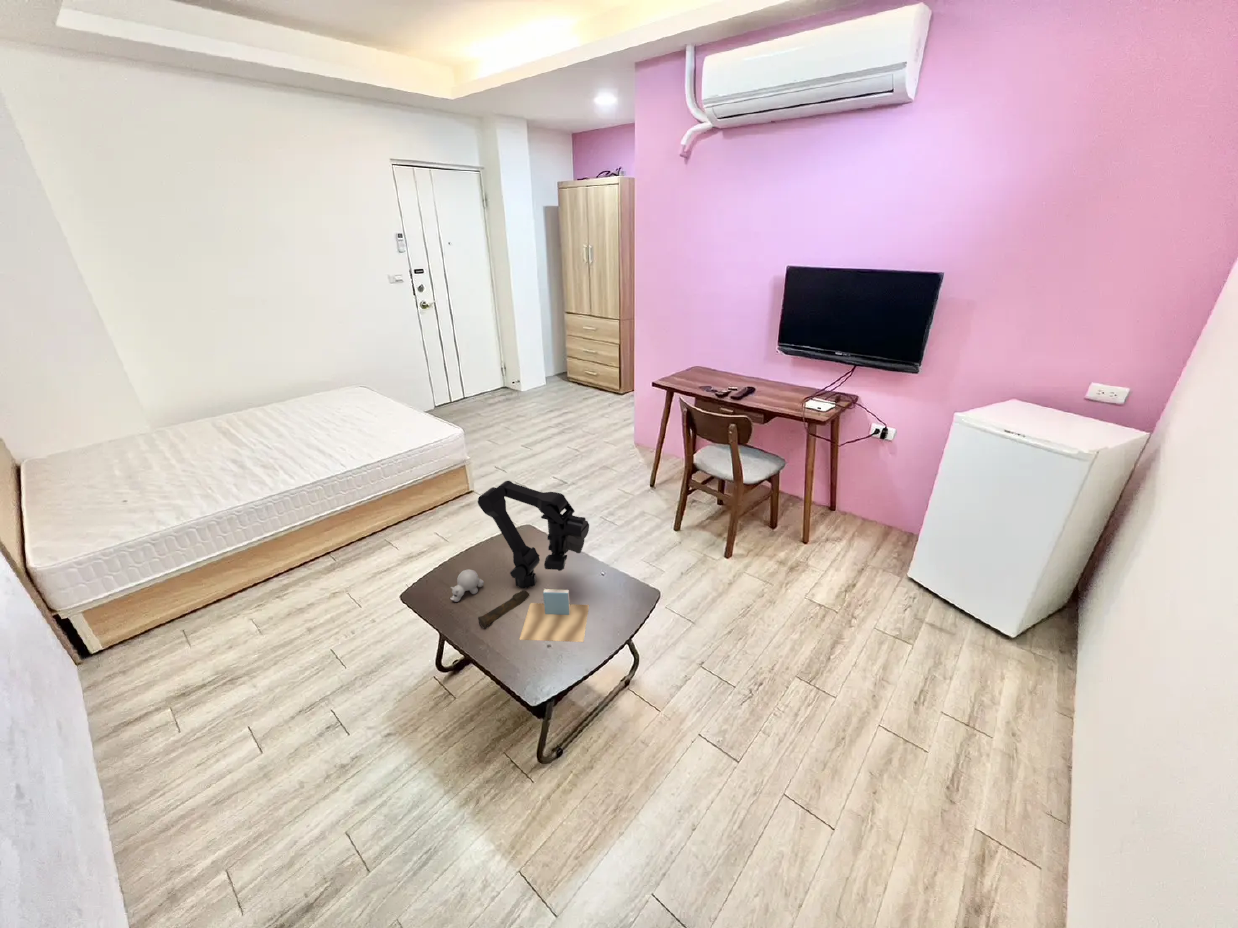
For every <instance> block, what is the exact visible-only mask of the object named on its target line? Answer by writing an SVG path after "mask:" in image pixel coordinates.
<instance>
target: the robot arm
mask: <svg viewBox="0 0 1238 928" xmlns="http://www.w3.org/2000/svg"><path fill="white" fill-rule="evenodd" d="M506 498H507V499H508V498H509V499H512V500H514V501H517V502H521V503H523V504H527V505H529V506H532V507H535V508H537V509H538V511H539V512H541V513H542V515H541V516H540V518H541V519H542V520H543V519H544V520H547V530H548V535H547V541H549V542H548V543H549V545H548V548H547V549H548V551H550V552H551V554H547V556H546V557H545V560H544V565H543V566H544V569H545V570H552V571H553V570H555V571H559V572H561V571H562V570H564V569H565V566H566V562H567V561H566V560H567V559H568V554H566V553H568V552H569V551H570V552H574V553H576V554H581V553H582V550H583V547H584V545H585V541H586V540H585V539H586V538H587V536H588V533H589V530H590V523H589V521H588V520H586V517H584V516H577V515H573V514H574V513H575V509H574V508H573V507H572V505H571V504H570V502H569V501H568V499H567V498H566V496H565V495H564V494H563V493H560V492H554V491H547V492H545V491H538V490H535V489H532V488H529V487H526V486H523V485H520V484H517V483H514V482H512V481H511V480H505V481H503V482H502V483H501V484H500V485H498V486H497V487H494V486H493V487H490V488H489V489H487V490H486V491H485V492H484V493H482V494H481V495H479V497H478V499H477V504H478V506H479V507H480V509H481V511H483V513H484V514H485V515H487V516H489V517H490V518H492V519H493V520H494V522H495V524H496V526H497V528H498V529H499V531H500V533H501V535H502V536H503V538H504V540H505V542H507V544H508V547H509V548H510V550H511V552H512V555H513V556H512V557H513V559H512V560H513V561H512V562H513V565H514V568H512V570H511V571H510V572H509V574H510V576H511V578H513V579H514V581H515V587H518V588H520V589H529V588H530V587H535V586H536V583H537V575H536V573H535V568H536V567H537V566H538V565H539V564H540V561H541V560H540V554H539V553H538V551H537V550H536V548H535V547H530V546H528V545H526V543H525V540H524V539H523V537H522V535H521V534H520V532H519V531H518V529H517V527H516V525H515V523H514V522H513V520H512V519H511V517H510V515H509V514H508V513H509V512H508V511H507V504H506V503H507V502H506V501H507V500H506ZM564 510H565V511H564ZM563 511H564V512H563ZM562 512H563V513H562Z"/></svg>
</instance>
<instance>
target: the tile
mask: <svg viewBox="0 0 1238 928" xmlns="http://www.w3.org/2000/svg"><path fill="white" fill-rule="evenodd" d="M542 594H543V603H544V606H545V614H557V615H569V614H570V603H571V602H570V590H569V589H552V588H550V589H548V588H545V589H543V593H542Z"/></svg>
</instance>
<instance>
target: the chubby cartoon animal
mask: <svg viewBox="0 0 1238 928" xmlns="http://www.w3.org/2000/svg"><path fill="white" fill-rule="evenodd" d="M456 583H457V584H456V585H454V586H450V589H451V593H452V596H451V597H449V598H450V600H451V601H453V602H456V603H457V602H459V601H460V600H461V599H462V597H463V596H464V595H465V593H466V591H469V592H470V593H471V594H472V595H476V594H477V593H478V591H479V588H481V587H483V586H484V583H485V581H484V580H483V579H481V578H479V575H478V573H477V571H476V570H473V569H464V570H462V571H461V572H460V573H459V574H458V576H457V579H456Z"/></svg>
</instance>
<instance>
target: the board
mask: <svg viewBox="0 0 1238 928" xmlns="http://www.w3.org/2000/svg"><path fill="white" fill-rule="evenodd" d="M589 607H590V605H589V604H573V603H571V604H570V614H569V615H557V614H545V606H544V602H543V603H542V602H541V603H539V602H537V603H536V602H530V604H529V606H528V610H527V613H526V616H525V619H524V622H523V623H524V624H523V627H522V628H521V629H522V630H521V633H520V637H519V639H518V640H520V641H544V642H545V641H546V642H548V641H549V642H570V643H571V642H572V643H573V642H574V643H576V642H577V643H584V641H585V637H586V636H585V634H586V629H587V622H588V614H589Z"/></svg>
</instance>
